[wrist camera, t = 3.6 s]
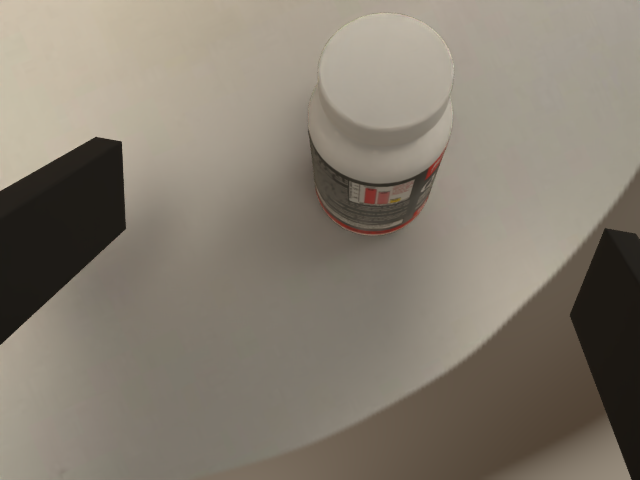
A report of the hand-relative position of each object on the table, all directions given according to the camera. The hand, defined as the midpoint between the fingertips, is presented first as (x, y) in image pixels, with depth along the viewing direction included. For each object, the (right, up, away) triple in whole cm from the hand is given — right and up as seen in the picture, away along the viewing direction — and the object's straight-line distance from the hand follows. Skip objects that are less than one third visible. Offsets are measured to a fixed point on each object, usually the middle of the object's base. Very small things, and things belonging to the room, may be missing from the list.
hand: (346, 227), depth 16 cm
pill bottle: (+2, +2, +13) cm, 14 cm away
